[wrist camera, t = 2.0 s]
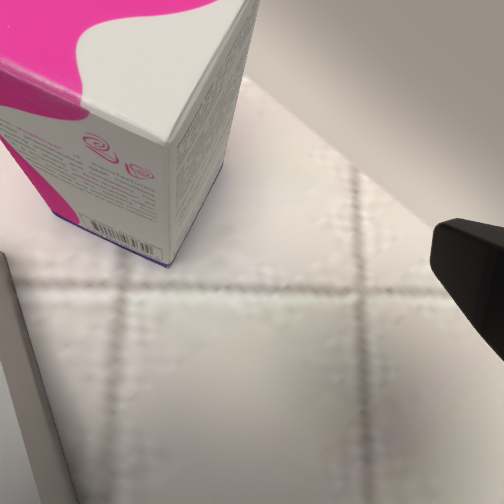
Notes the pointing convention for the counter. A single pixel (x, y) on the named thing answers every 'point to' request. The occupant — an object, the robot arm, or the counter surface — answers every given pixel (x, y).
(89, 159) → the supplement box
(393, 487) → the counter surface
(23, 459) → the bin
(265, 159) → the counter surface
